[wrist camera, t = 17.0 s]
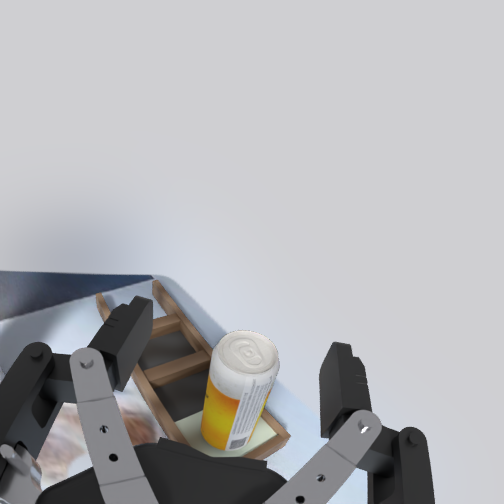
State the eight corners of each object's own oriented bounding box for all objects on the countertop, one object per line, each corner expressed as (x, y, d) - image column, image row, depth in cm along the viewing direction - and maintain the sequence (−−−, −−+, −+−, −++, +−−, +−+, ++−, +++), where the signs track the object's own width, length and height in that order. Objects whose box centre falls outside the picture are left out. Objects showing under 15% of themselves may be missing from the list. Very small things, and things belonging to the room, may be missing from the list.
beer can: (235, 406, 38) (258, 321, 31) (260, 442, 34) (296, 364, 27) (191, 420, 35) (201, 335, 28) (215, 460, 30) (235, 387, 23)
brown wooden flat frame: (284, 446, 36) (290, 435, 35) (206, 491, 29) (208, 483, 27) (157, 292, 59) (157, 279, 57) (97, 307, 52) (95, 293, 50)
